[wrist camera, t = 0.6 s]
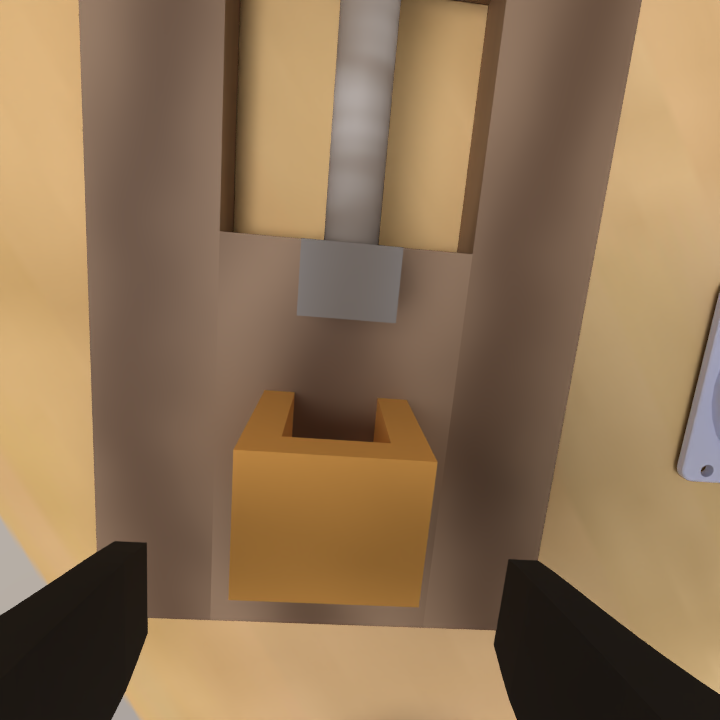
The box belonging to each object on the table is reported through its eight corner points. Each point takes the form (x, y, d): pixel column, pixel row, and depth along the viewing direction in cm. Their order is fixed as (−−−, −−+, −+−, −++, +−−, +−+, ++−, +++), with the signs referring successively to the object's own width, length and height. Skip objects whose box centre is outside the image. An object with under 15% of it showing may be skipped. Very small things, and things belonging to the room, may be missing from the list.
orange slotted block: (406, 399, 16) (437, 462, 11) (394, 506, 17) (418, 607, 12) (264, 389, 16) (233, 449, 11) (259, 499, 17) (228, 600, 12)
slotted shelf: (618, -50, 15) (791, -238, 10) (506, 595, 20) (575, 732, 15) (108, -121, 14) (-49, -382, 8) (122, 579, 19) (30, 720, 13)
